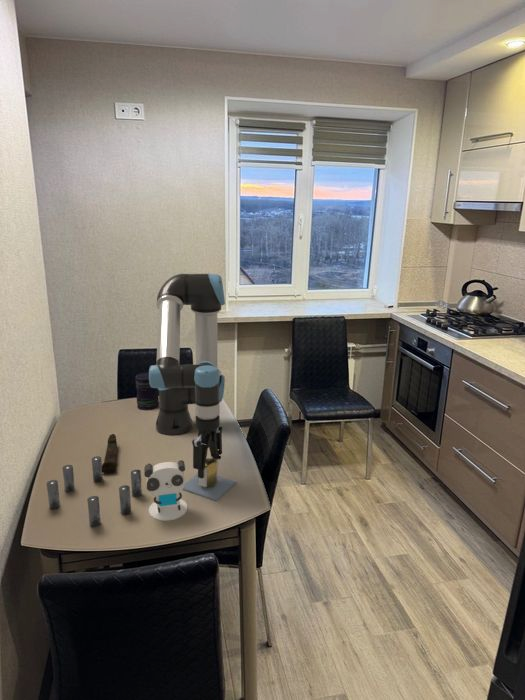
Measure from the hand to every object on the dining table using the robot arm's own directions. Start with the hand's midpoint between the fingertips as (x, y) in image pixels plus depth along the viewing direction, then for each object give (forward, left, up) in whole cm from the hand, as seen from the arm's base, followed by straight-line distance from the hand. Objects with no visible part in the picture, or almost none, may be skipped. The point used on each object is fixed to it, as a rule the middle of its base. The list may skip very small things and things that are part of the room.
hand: (208, 480), depth 155 cm
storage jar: (-42, -63, -2) cm, 76 cm away
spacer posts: (+24, -25, -2) cm, 35 cm away
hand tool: (+3, -41, -2) cm, 41 cm away
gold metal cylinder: (0, 0, 0) cm, 0 cm away
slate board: (0, 0, -2) cm, 2 cm away
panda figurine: (+17, -3, -2) cm, 17 cm away
